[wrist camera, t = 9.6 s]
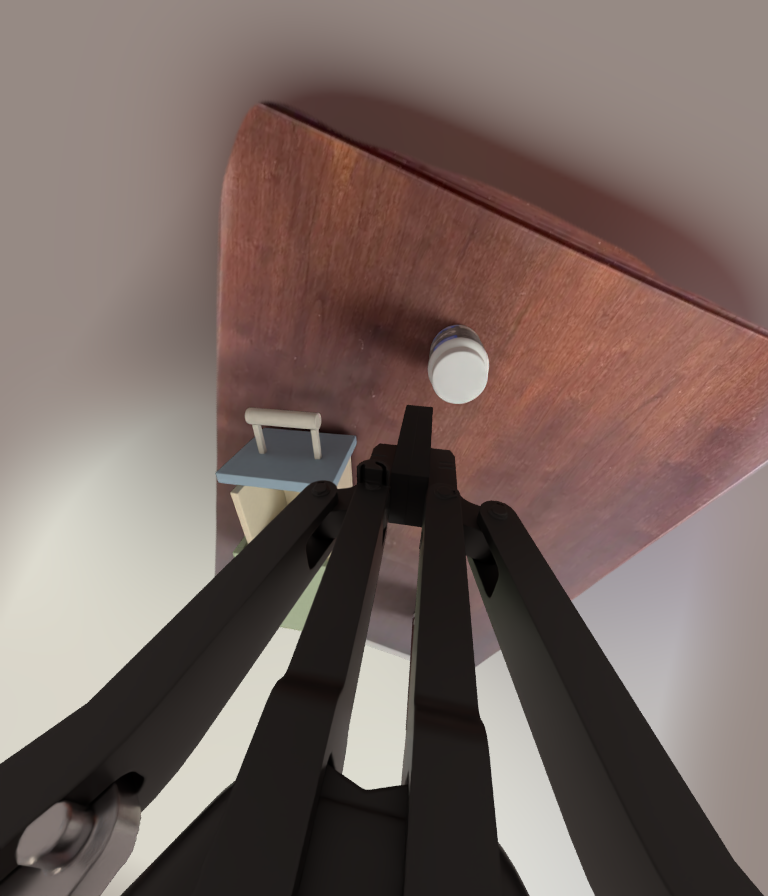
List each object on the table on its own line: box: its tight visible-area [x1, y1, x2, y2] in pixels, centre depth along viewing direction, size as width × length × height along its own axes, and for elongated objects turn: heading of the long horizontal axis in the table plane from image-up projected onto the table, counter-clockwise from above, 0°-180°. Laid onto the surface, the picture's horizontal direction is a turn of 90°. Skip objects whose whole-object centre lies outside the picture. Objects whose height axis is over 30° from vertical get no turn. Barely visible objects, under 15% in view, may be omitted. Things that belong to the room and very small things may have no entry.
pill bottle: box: [428, 325, 489, 404], centre depth 25 cm, size 5×5×8 cm
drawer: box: [215, 407, 356, 561], centre depth 33 cm, size 18×11×9 cm, turn 0°
